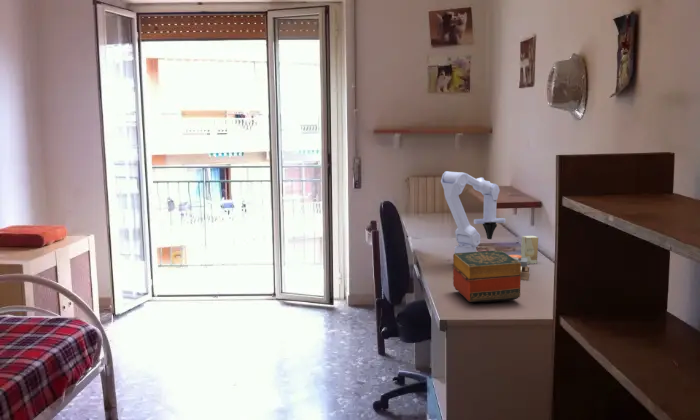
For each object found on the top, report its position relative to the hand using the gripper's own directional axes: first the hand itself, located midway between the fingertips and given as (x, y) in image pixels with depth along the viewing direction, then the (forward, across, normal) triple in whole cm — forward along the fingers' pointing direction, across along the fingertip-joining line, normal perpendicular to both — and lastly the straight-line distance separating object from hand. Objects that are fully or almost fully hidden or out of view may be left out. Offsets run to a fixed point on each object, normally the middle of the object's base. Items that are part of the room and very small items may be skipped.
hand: (489, 238), depth 279 cm
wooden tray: (+10, -5, -27) cm, 29 cm away
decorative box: (+10, -24, -58) cm, 63 cm away
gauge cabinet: (+10, +4, -20) cm, 23 cm away
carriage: (+9, -1, -29) cm, 30 cm away
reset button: (+9, +4, -20) cm, 22 cm away
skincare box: (+11, +16, -6) cm, 21 cm away
